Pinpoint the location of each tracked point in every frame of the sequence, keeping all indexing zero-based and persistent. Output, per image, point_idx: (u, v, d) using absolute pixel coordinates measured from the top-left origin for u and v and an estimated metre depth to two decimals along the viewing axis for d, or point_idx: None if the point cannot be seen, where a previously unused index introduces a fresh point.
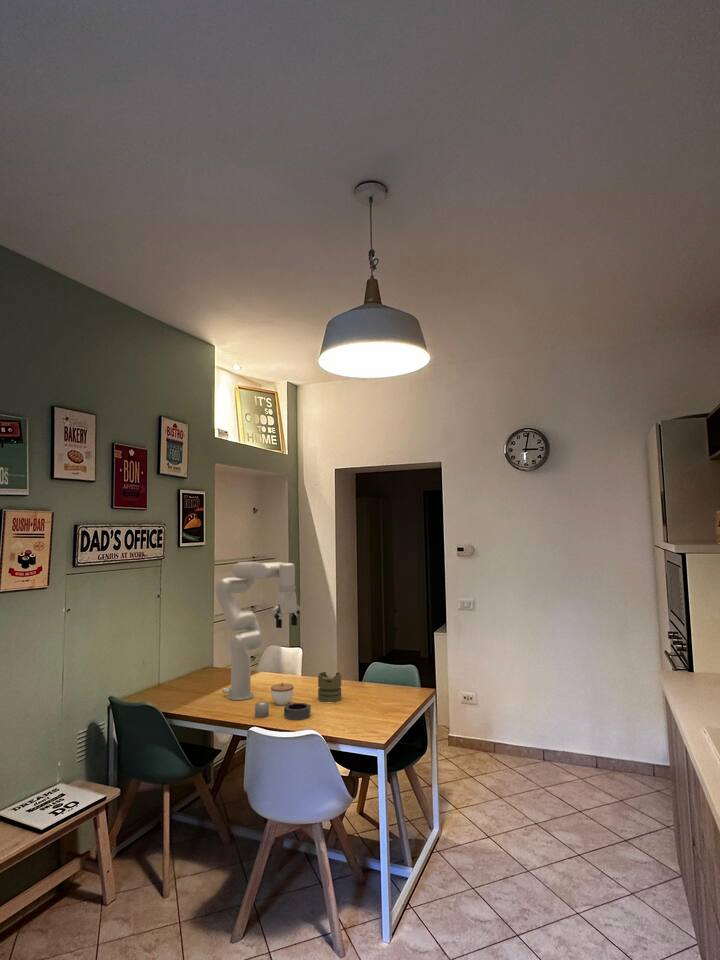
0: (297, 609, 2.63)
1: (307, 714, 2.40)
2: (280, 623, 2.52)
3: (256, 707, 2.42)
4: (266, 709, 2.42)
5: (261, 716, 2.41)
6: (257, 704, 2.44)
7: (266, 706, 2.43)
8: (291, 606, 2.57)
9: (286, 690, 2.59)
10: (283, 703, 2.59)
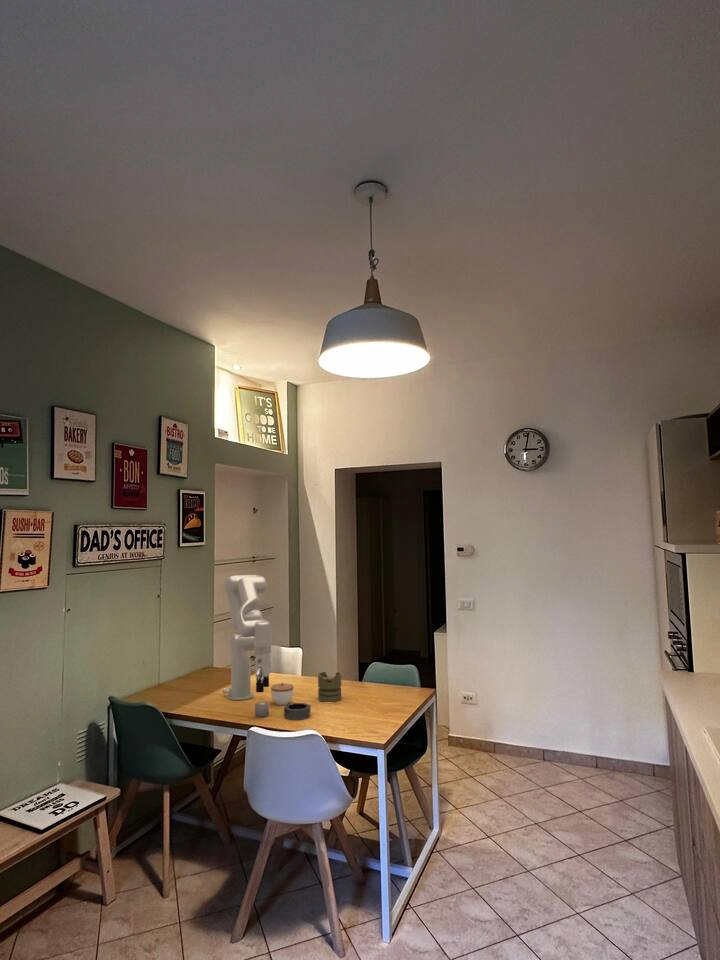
0: None
1: (307, 714, 2.40)
2: None
3: (256, 707, 2.42)
4: (266, 709, 2.42)
5: (261, 716, 2.41)
6: (257, 704, 2.44)
7: (266, 706, 2.43)
8: None
9: (286, 690, 2.59)
10: (283, 703, 2.59)
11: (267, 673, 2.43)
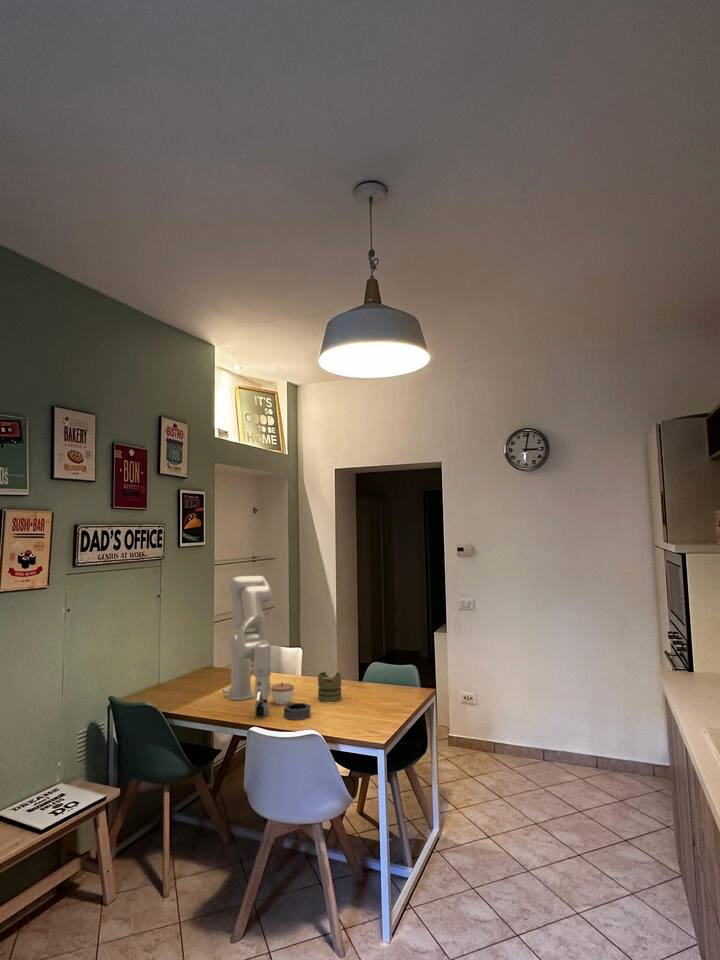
0: None
1: (307, 714, 2.40)
2: None
3: None
4: (266, 709, 2.42)
5: (261, 716, 2.41)
6: None
7: (266, 706, 2.43)
8: None
9: (286, 690, 2.59)
10: (283, 703, 2.59)
11: (266, 695, 2.43)
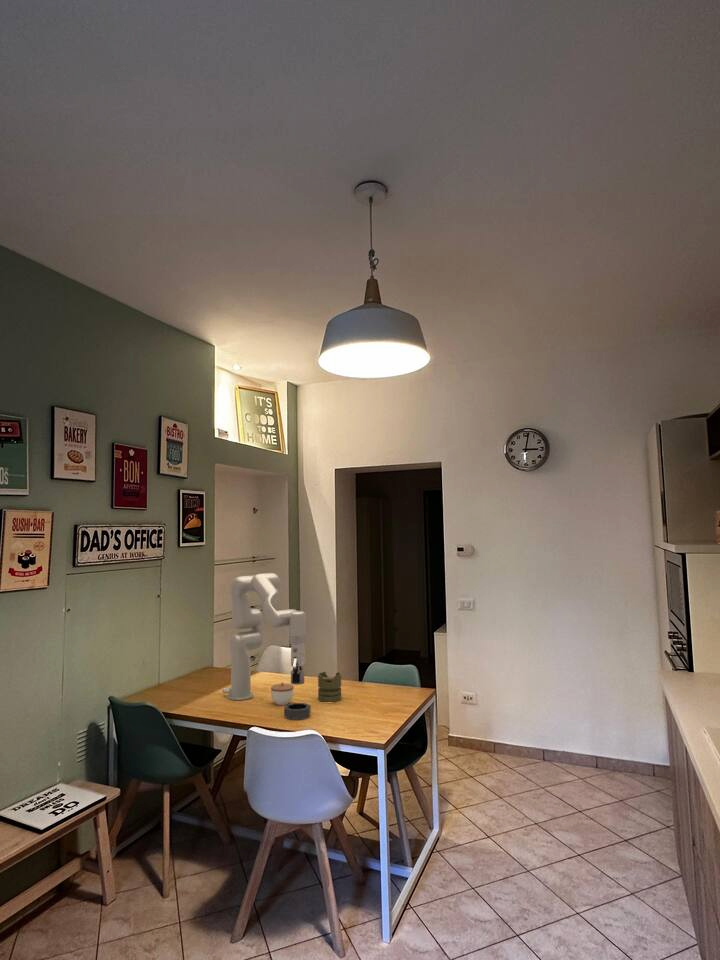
0: None
1: (307, 714, 2.40)
2: None
3: None
4: (302, 676, 2.43)
5: (297, 683, 2.42)
6: None
7: (302, 673, 2.43)
8: None
9: (286, 690, 2.59)
10: (283, 703, 2.59)
11: (302, 663, 2.43)
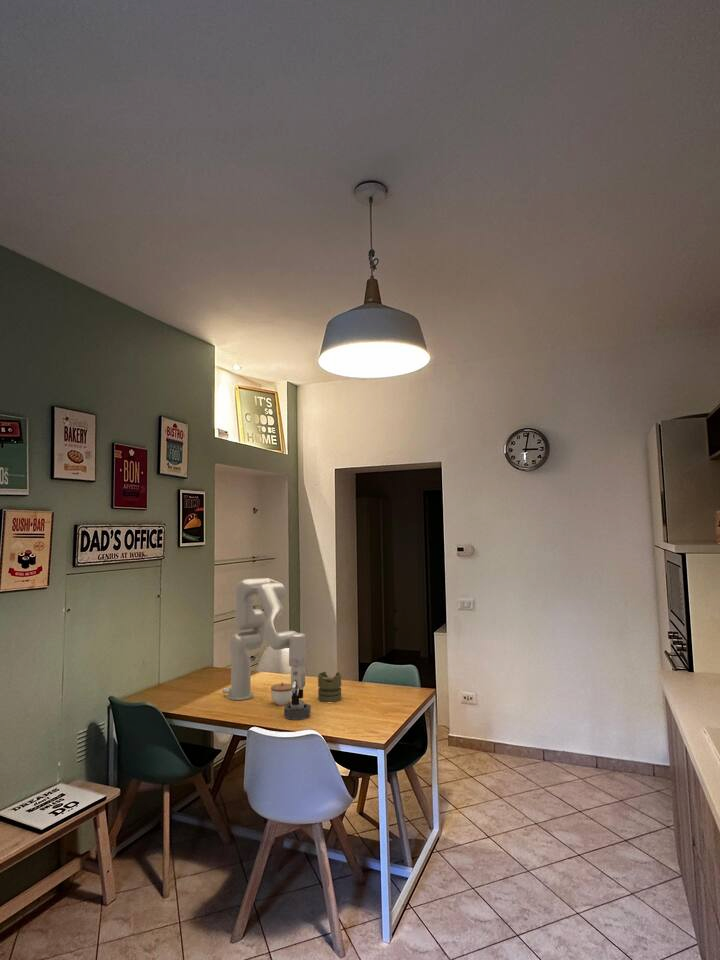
0: None
1: (307, 714, 2.40)
2: None
3: (292, 705, 2.41)
4: (302, 708, 2.41)
5: None
6: None
7: (302, 704, 2.42)
8: None
9: (286, 690, 2.59)
10: (283, 703, 2.59)
11: (302, 685, 2.42)
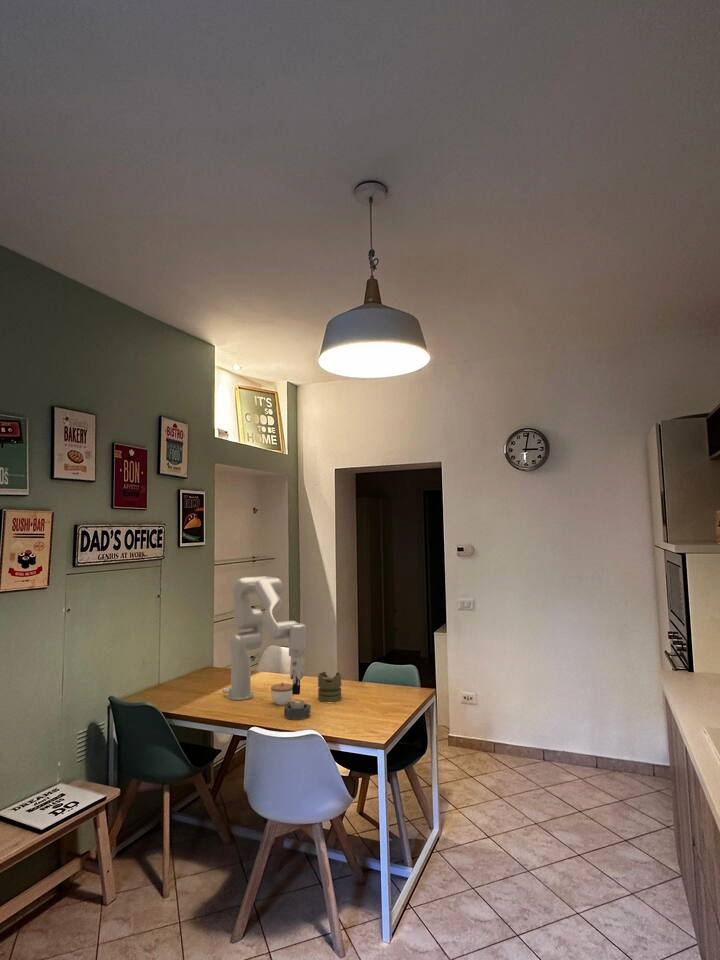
0: None
1: (307, 714, 2.40)
2: None
3: (292, 705, 2.41)
4: (302, 708, 2.41)
5: None
6: (292, 702, 2.43)
7: (302, 704, 2.42)
8: None
9: (286, 690, 2.59)
10: (283, 703, 2.59)
11: (301, 676, 2.43)
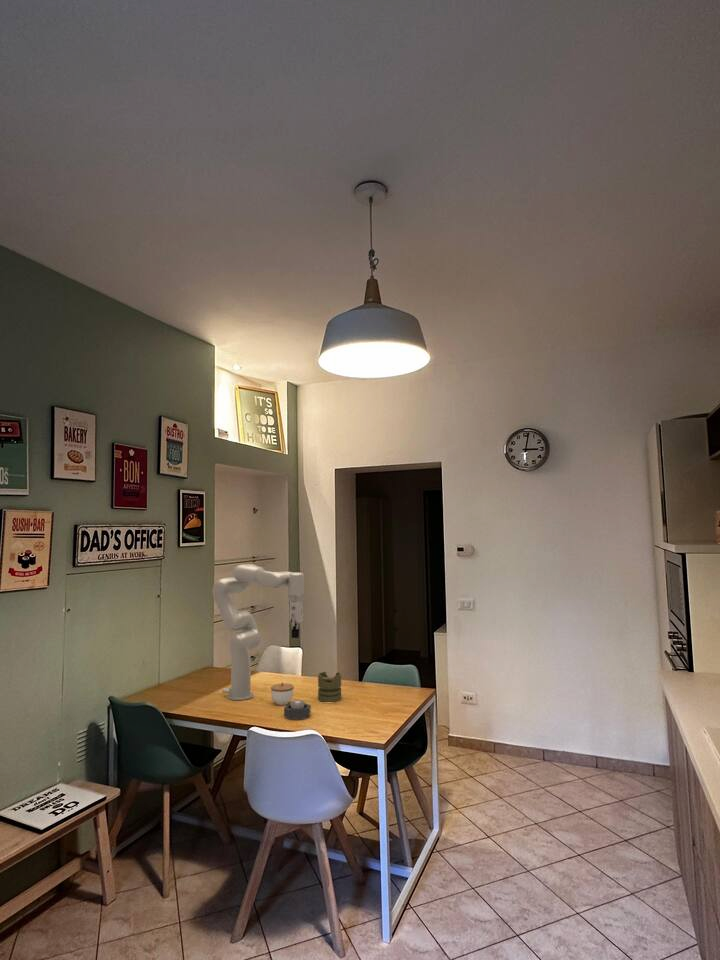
0: None
1: (307, 714, 2.40)
2: None
3: (292, 705, 2.41)
4: (302, 708, 2.41)
5: None
6: (293, 702, 2.43)
7: (302, 704, 2.42)
8: None
9: (286, 690, 2.59)
10: (283, 703, 2.59)
11: (300, 620, 2.60)
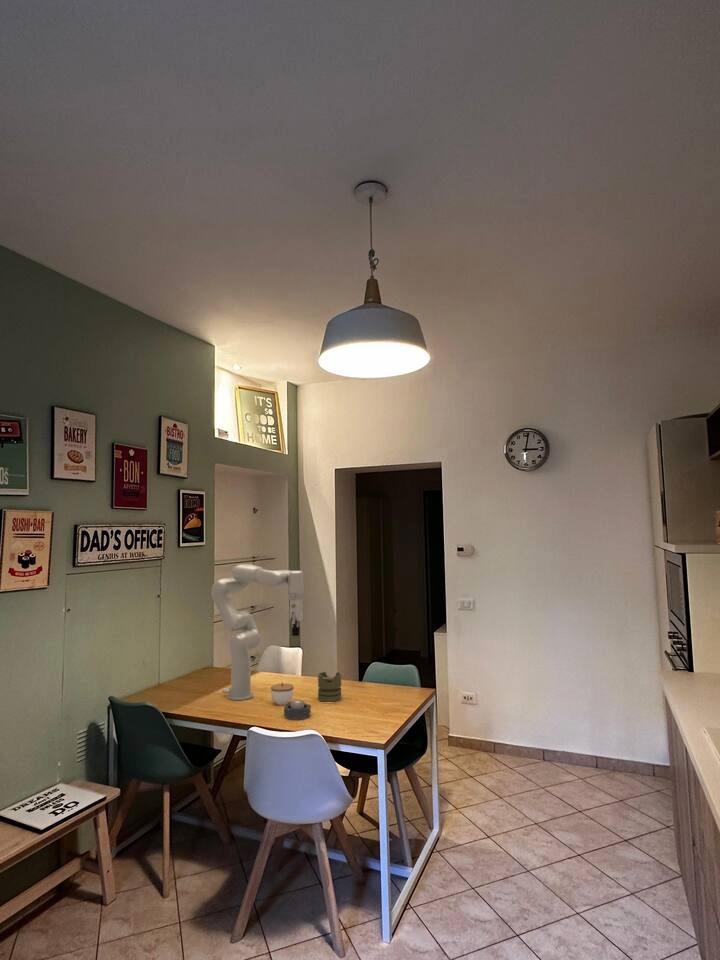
0: None
1: (307, 714, 2.40)
2: None
3: (292, 705, 2.41)
4: (301, 708, 2.41)
5: None
6: (292, 702, 2.43)
7: (302, 704, 2.42)
8: None
9: (286, 690, 2.59)
10: (283, 703, 2.59)
11: (300, 618, 2.61)
